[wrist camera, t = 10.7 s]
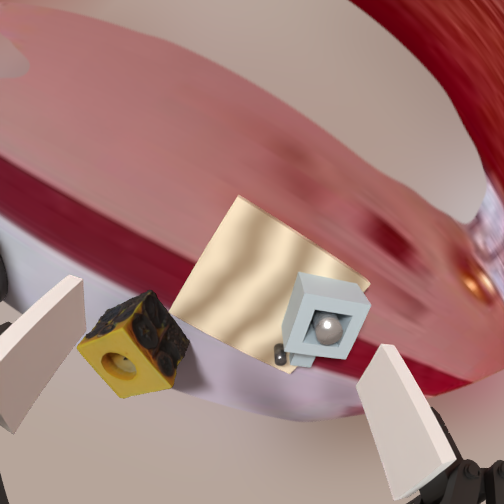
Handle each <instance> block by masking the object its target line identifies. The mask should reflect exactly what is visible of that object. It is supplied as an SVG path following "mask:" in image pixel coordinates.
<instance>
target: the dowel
mask: <svg viewBox="0 0 504 504" xmlns="http://www.w3.org/2000/svg"><path fill="white" fill-rule="evenodd" d="M274 360H275V364H276V365H278V366H283V365H285V364H286V362H287V358H286V352H284V345H283V344H282V343H278V344H276V345H275V346H274Z"/></svg>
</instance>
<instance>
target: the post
mask: <svg viewBox="0 0 504 504" xmlns="http://www.w3.org/2000/svg"><path fill="white" fill-rule="evenodd" d="M312 322H313V325H314V329H315V333H316V336H317V340H318V341H319V342H320V343H322V344H324V345H330V344H334V343H336V342H337V341H339V340H340V339H341V337H342V335H343V329H342V326H341V324H340V322H339V319H338V317H337V314H336V313H333V312H327V311H321V310H315V311H314V313H313V316H312Z"/></svg>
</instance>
